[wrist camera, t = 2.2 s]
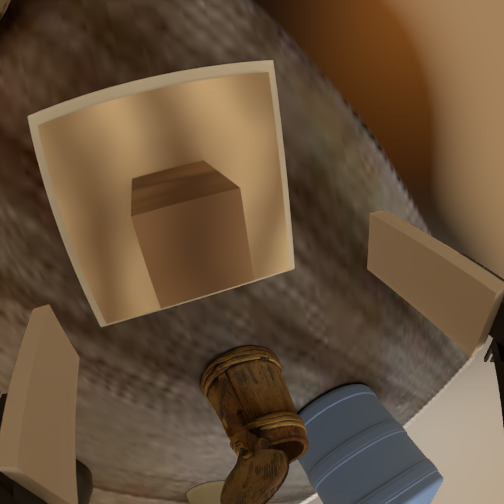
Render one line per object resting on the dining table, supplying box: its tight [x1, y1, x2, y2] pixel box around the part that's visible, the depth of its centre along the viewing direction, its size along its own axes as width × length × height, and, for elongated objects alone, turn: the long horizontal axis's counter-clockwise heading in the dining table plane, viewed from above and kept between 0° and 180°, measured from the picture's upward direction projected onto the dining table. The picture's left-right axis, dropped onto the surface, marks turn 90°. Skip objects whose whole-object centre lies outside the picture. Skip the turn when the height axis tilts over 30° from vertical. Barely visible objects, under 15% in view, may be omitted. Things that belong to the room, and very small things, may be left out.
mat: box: [27, 60, 295, 327], centre depth 23 cm, size 18×18×1 cm
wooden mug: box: [200, 346, 309, 504], centre depth 25 cm, size 9×14×18 cm, turn 36°
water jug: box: [298, 384, 443, 504], centre depth 34 cm, size 16×16×28 cm
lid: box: [38, 72, 290, 324], centre depth 19 cm, size 16×16×9 cm
